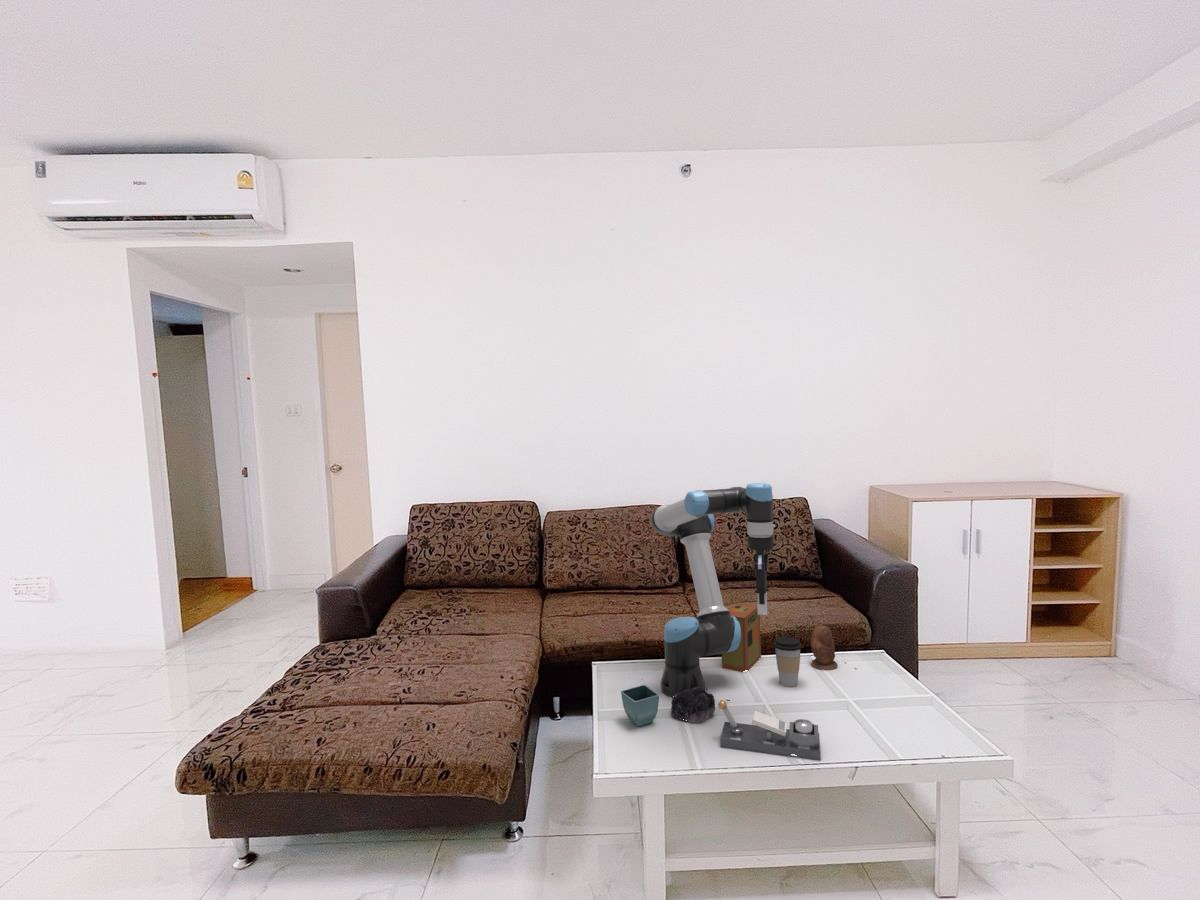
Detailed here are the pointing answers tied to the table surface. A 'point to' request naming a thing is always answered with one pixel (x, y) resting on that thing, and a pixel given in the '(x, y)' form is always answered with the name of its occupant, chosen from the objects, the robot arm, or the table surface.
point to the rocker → (769, 723)
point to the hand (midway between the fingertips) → (762, 613)
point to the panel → (771, 740)
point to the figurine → (823, 648)
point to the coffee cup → (788, 659)
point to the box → (744, 639)
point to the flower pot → (640, 704)
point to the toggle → (727, 713)
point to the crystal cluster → (693, 705)
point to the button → (803, 726)
